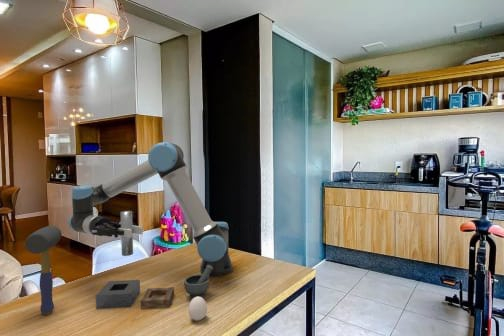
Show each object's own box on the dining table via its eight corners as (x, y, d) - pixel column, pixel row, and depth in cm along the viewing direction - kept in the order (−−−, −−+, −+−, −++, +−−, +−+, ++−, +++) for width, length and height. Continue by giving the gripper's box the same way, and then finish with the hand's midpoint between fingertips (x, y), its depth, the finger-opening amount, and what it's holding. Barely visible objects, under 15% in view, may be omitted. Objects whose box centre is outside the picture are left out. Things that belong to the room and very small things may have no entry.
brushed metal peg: (134, 252, 114) (133, 210, 113) (131, 255, 110) (130, 212, 109) (123, 252, 114) (122, 211, 113) (120, 256, 110) (118, 213, 109)
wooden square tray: (174, 294, 117) (173, 287, 117) (169, 307, 107) (169, 299, 107) (147, 296, 116) (147, 288, 116) (140, 309, 106) (140, 300, 106)
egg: (207, 313, 102) (206, 292, 102) (207, 323, 96) (206, 300, 96) (189, 315, 102) (188, 293, 101) (188, 325, 96) (187, 302, 95)
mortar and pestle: (185, 305, 109) (184, 272, 108) (183, 293, 118) (182, 263, 117) (215, 300, 112) (215, 268, 112) (211, 289, 121) (210, 260, 121)
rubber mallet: (51, 321, 99) (48, 232, 98) (26, 324, 97) (22, 233, 96) (66, 303, 111) (63, 223, 110) (43, 305, 109) (40, 224, 108)
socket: (140, 291, 120) (139, 279, 119) (130, 307, 108) (130, 293, 107) (109, 293, 119) (108, 281, 118) (96, 308, 107) (95, 295, 106)
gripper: (116, 230, 128) (155, 236, 116) (76, 240, 113) (116, 248, 101) (116, 212, 128) (154, 217, 116) (76, 220, 113) (115, 227, 101)
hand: (136, 232), depth 109 cm, fingers closed on brushed metal peg, 4 cm apart
